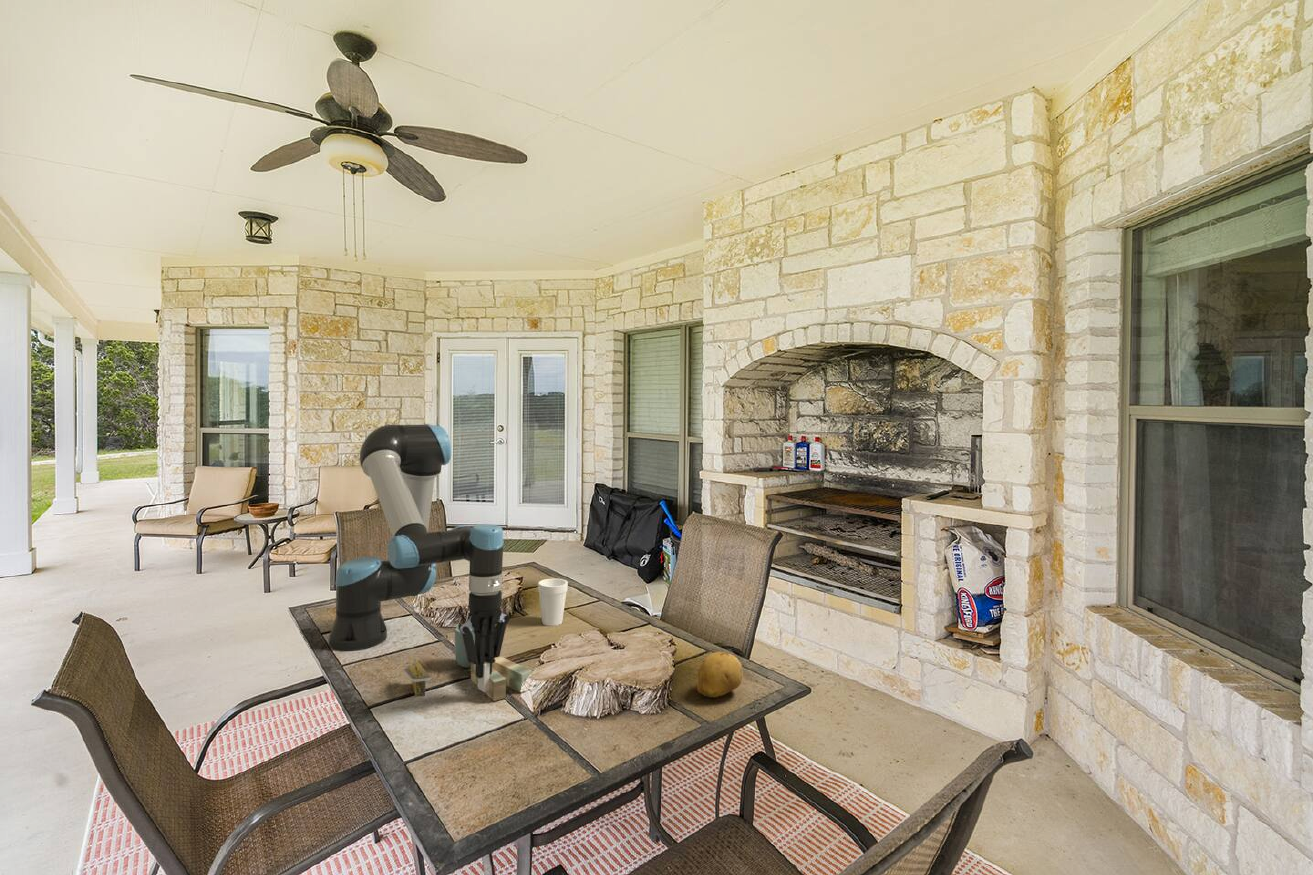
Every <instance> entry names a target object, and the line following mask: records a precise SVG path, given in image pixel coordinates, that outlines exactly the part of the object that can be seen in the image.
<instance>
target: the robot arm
mask: <svg viewBox="0 0 1313 875" xmlns="http://www.w3.org/2000/svg"><path fill="white" fill-rule="evenodd" d="M450 440H451V439H450V438H449V434H448V432H447V431H446V429H445V428H444V427H443V426H441V425H439V424H438V425H436V424H435V425H434V424H432V425H431V424H428V423H426V424H386V425H382V426H379V427H378V428H376V429H374V430H372V432H370V433H369V434H368V435H367V436H366V438H365V439H364V441H363V442H362V444H361V447H360V451H359V463H360V466H361V469H362V471H363V474H365V475H366V476H367V477H369V478H370V480H371V483H372V485H373V489H374V491H375V493H376V496H377V498H378V501H379V504H380V506H381V509H382V511H383V514H384V516H385V519H386V522H387V525H388V526H389V530H390V532H391V535H392V537H391V538H390V539H389V541H388V543H387V555H388V559H387V560H381V558H380V557H378V556H368V557H367V556H362V557H358V558H354V559H351V560H349V561H346V562H344V563H342V564H340V565H339V567H338V568H337V571H336V576H335V618H334V622H333V624H332V627H331V630H330V633H329V635H328V646H329V647H331V648H332V649H334V650H338V651H356V650H357V651H358V650H365V649H369V648H372V647H375V646H378V645H380V644H382V643H383V642H385V641H386V640H387V639H388V638H387V637H388V629H387V625H386V623H385V620H384V618H383V614H382V611H381V608H382V607H381V604H382V602H385V601H393V600H396V599H402V598H408V597H409V598H410V597H417V596H419V595H423V594H426V593H428V592H429V591H430V590H431V589H432V588H433V586H434V584H435V581H436V577H437V576H436V575H437V570H436V567H437V565H436V564H442V563H448V562H455V561H462V560H466V561H468V562H469V575H468V576H469V577H468V579H469V580H468V591H469V594H468V610H469V613H468V616H467V620H466V621H465V622H464V623H463V624H464V625H462V624H459V625H458V626H459V627H458V626H457V627H458V629H459V630H460V632H461V633H462V636H463V640H464V645H465V650H466V654H467V659H468V661H469V662H471V663H472V664H474V665H476V669H475V672H476V673H475V675H476V677H478V686H477V689H478V690H480V691H481V692H483V693H485V692H486V691H489V675H490V674H491V673H492V663H494V662H495V659H494V658H496V657H499V656H501V652H502V647H503V642H504V639H505V634H506V628H507V625H508V623H509V621H510V619H511V617H510V615H508V614H505V613H503V610H502V609H501V607H502V602H503V601H502V598H503V597H502V595H503V593H502V591H501V590H502V589H503V588H502V587H503V561H504V557H503V556H504V542H505V541H504V533H503V532H504V531H503V528H502V527H501V526H500V525H497V524H494V525H493V524H478V525H477V524H476V525H473V527H470V526H468V525H466V526H464V525H458V526H455V527H453V528H451V529H449V530H439V531H431V532H429V526H430V520H431V519H430V518H431V511H432V510H431V509H432V502H433V494H434V487H435V486H434V485H435V478H436V477H438V476H439V475H440V474H441V473H442V465H443V466H446V465H448V464H449V463H450V461H451V458H452V445H451V441H450ZM471 625H472V627H473V628H474V634H475V644H474V639H473V635H472V633H471V631H472V629H471Z"/></svg>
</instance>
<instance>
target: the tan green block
mask: <svg viewBox="0 0 1313 875" xmlns="http://www.w3.org/2000/svg"><path fill="white" fill-rule="evenodd" d="M494 659H495V662H494V663H492V667H493V668H494V669H495V670H496V671H498V672H499V673H500V674H501V675H502V676H503V677H505V678H506V687H509V688H511V689H513V690H514V691H516V692H518V693H520V690H521V686H522V683H523V682H524V681H525V679H526V678H527V677H528V676H529V675H530V674H531V673H532V674H533V670H531V669H529V668H526V667H525V666H522V665H521V664H518V663H516V662H513V661H512V660H509V659H507V658H505V657H503V656H502V655H500V656H499V657H496V658H494Z"/></svg>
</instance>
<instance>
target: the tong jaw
mask: <svg viewBox="0 0 1313 875" xmlns="http://www.w3.org/2000/svg"><path fill="white" fill-rule="evenodd" d="M475 669H476V665H474V664H472V663H471V668H470V680H471V681H472V682H473V683H474V684H475V685H476V686H477V687H478V677H476V675H475V673H476V672H475ZM506 692H507V685H506V678H505V677H503V676H502V675H501V674H500V673H499V672H498V671H496V670H495V669H494V668H493V667H492V673H491V674H490V675H489V691H486V692H484V694H486V696H487V697H489V698H490V699H491V700H492V701H493V702H495V701H499V700H503V699H506V698H507V696H506V695H507V693H506Z"/></svg>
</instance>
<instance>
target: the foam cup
mask: <svg viewBox="0 0 1313 875" xmlns="http://www.w3.org/2000/svg"><path fill="white" fill-rule="evenodd" d="M537 586H538V588H537V591H538V595H539V605H540V614H541V622H542V624H543V625H544V626H548V627H553V626H555V625H556V626H560V625H562V623H563V618H564V612H565V607H566V606H565V605H566V599H567V592H568V590H569V588H568V587H569V581H568V580H566V579H562V578H545V579H541V580H539V582H538V583H537ZM559 624H560V625H559Z"/></svg>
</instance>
